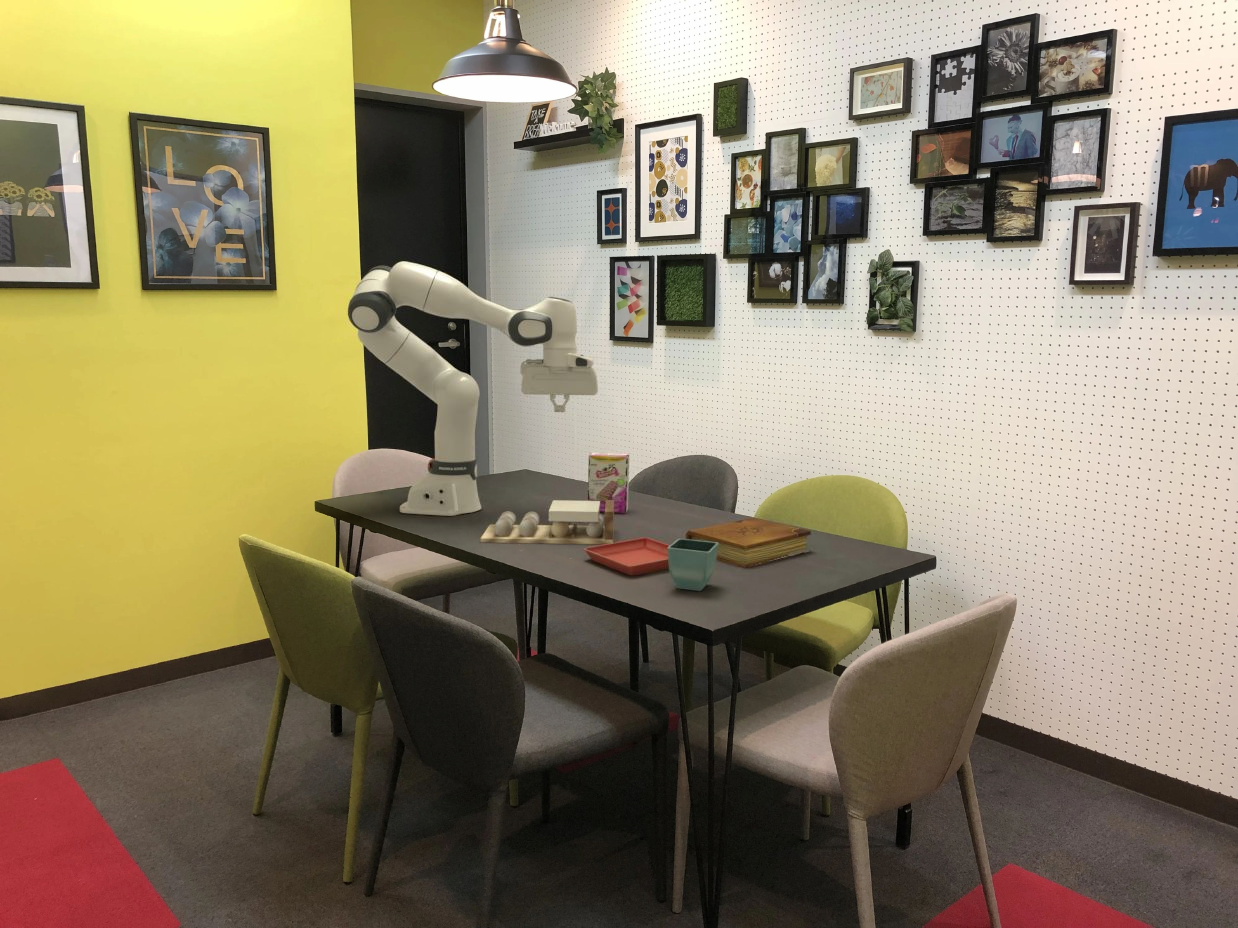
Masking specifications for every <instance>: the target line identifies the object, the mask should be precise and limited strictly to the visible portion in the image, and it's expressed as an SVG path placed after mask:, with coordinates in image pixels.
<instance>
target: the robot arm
mask: <svg viewBox="0 0 1238 928" xmlns="http://www.w3.org/2000/svg"><path fill="white" fill-rule="evenodd" d="M352 295H353V296H352V297H351V299H349V303H348V306H347V307H348V308H347V316H348V320H349V322H350V323H351V324H352V325H353V327H354V328H355V329H357V337H358V339H359V341H360V342H361V343H362V345H363V346H364V347H366V349H367V350H368V351H369V352H370V353H372V354H373V355H374V357H376V358H377V359H378V360H380V361H381V362H383V363H384V364H385V365H386V366H387V367H388V368H390V369H391V370H393V371H394V372H395V373H396V374H398V375H400V376H401V377H402V378H403V379H404V380H406V381H407V382H408V383H409V384H411V385H412V386H413V387H415V388H416V389H417V390H418V391H420V392H421V393H423V395H425V396H426V397H428V398H429V399H430V400H432V401H433V402H434V403H435V404H437V415H436V422H435V429H434V458H431V459H430V460H429V461H428V462H427V471H428V473H426V475H423V476H422V477H421V478H420V479H419V480H417V481H416V482H415V483H414V484H413V485H412V486H411V487H410V488H409V491H408V495H407V501H405V502H403V503H401V505H400V506H399V512H400V513H403V514H410V515H411V514H413V515H414V514H415V515H429V516H430V515H432V516H450V517H451V516H458V515H462V514H468V513H469V514H470V513H474V512H477V511H480V510H481V509H482V504H481V502H480V496H479V493H478V486H477V478H478V463H477V462H478V461H477V459H476V440H475V439H476V437H475V436H476V424H477V423H476V422H477V419H478V408H479V407H478V406H479V399H480V396H481V395H480V387H479V384H478V383H477V381H476V380H475V379H474V378H473V376H471V375H469V374H468V373H466V372H463V371H460V370H458V369H457V368H455V367H454V366H453V365H452V364H451V363H449V362H448V361H447V360H446V359H445V358H443V357H442V356H441V355H440V354H439V353H438V352H437V351H436V350H435V349H433V348H432V347H431V346H430V345H428V344H427V343H426V342H425V341H423V340H422V339H421V338H419V337H418V336H417V335H416V334H414V333H413V332H412V331H410V330H409V329H408V328H406V327H405V326H403V324H401V323H400V322H399V321H398V320H397V318H396V316H395V315H396V314H397V311H398V310H397V308H400V307H402V306H409V307H412V308H414V309H415V308H416V309H418V310H419V311H421V312H424V313H427V314H430V315H433V316H437V317H442V318H448V319H464V320H470V321H474V322H477V323H480V324H482V325H485V326H488V327H490V328H493V329H496V330H498V331H500V332H502V333H503V334H505V335H506V337H508V338H509V339H510V340H511V341H512V342H513V343H514V344H516V345H517V346H519V347H523V348H530V347H533V346H535V345H542V359H539V358H538V359H537V358H535V359H529V358H528V359H526V360H524V361H522V362H521V363H520V375H522V379H521V390H520V391H521V392H522V393H523V394H524V395H536V396H537V395H538V396H539V395H542V396H543V395H546V396H549V400H550V402H551V403H552V405H553V412H554V413H565V412H566V406H567V404H568V402H569V400H570V396H596V395H597V394H598V393H599V389H598V388H599V386H598V378H597V372H596V370H595V369H594V367H593V366H594V360H593V359H592V358H591V357H588V356H585V355H583V354H580V353H578V351H577V347H578V346H577V343H576V336H577V332H578V331H577V329H578V328H577V327H578V326H577V311H576V307H575V304H573V302H571V300H568V299H565V298H561V297H555V296H548V297H546V298H545V299H543V300H541V302H538V303H537V304H534V305H532V306H529V307H528V308H527V307H526V308H522V309H521V308H520V309H512V308H509V307H506V306H502V305H500V304H497V303H495V302H492V301H490V300H487V299H485V298H483V297H482V296H479V295H477V294H476V293H474V292H473V291H472V290H470V289H469V288H468V287H467V285H465V284H464V283H462V282H461V281H459V280H458V279H456V278H454V277H453V276H451V275H449V274H448V273H446V272H442V271H441V270H438V269H435V268H432V267H429V266H426V265H423V264H419V263H415V262H410V261H402V260H401V261H399V262H397V263H395V264H394V265H393V266H392V267H390V266H388V265H378V266H374V267H372V268H371V269H369V270H368V271H367V272H366V273H365V274H364V276H363V278H362V279H361V280H360V282H358V284H357V286H356V287H355V289H354V293H353V294H352ZM557 396H563V400H565V401H564V402H563V404H557V402H556V400H555V399H556V397H557Z"/></svg>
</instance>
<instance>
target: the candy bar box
mask: <svg viewBox="0 0 1238 928" xmlns="http://www.w3.org/2000/svg"><path fill="white" fill-rule="evenodd" d="M587 474H588V475H587V477H588V479H587V480H588V481H587V482H588V483H587V501H600V514H602V513H603V514H605V507H606V500H614V514H627V513H628V510H629V484H630V483H629V481H630V476H629V475H630V454H628V453H609V452H607V453H605V452H590V453H589V454H588V473H587Z"/></svg>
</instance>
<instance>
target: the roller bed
mask: <svg viewBox="0 0 1238 928" xmlns="http://www.w3.org/2000/svg"><path fill="white" fill-rule="evenodd" d="M516 521H517V516H516V514H515V513H513V512H512V511H510V510H507V511H504V512H502V513H501V514H500V516H499V517H498V520H497V521H496V522H495V524H489V525H488V527H487V528H486V530H485V531H484V533H483V534H482V535H481V537H480V543H494V544H495V543H499V544H501V543H502V544H506V543H508V544H556V545H557V544H567V545H605V544H610V543H614V534H615V533H614V532H615V513H614V500H606V507H605V513H604V515H602V513H600V514H599V520H598V522H587V525H578V523H574V524H573V525H569V528H568V531H567V534H566V535H565V536H564V537H561V538H558V537H555V536H554V535H553V534H552V532H551V527H552V525H553V524H552V525H550V524H549V525H548V524H547V525H545V524H539V523H540V515H539V514H538V513H537V512H535V511H528V512H526V513H525V514H524V516H523V518H522V520H521V522H520V524H515V523H516Z"/></svg>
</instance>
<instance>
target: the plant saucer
mask: <svg viewBox="0 0 1238 928" xmlns="http://www.w3.org/2000/svg"><path fill="white" fill-rule="evenodd" d="M670 545H671V544H668V543H664V542H662V541H661V542H660V541H658V540H655V539H652V538H649V537H639V538H635V539H628V540H624V541H622V540H621V541H617V542H613V543H610V544H598V545H595V546H588V547H585V548H583V550H584V552H585V553H586V554H587V555H588V556H589V558H590V559H591V560H592V561H594V562H595V563H598V564H601V565H603V566H605V567H608V568H610V569H613V570H616V571H618V572H621V573H623V574H625V575H628V576H637V575H641V574H648V573H652V572H653V573H654V572H657V571H662V570H667V569H669V562H668V549H667V548H668V547H669V546H670Z"/></svg>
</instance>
